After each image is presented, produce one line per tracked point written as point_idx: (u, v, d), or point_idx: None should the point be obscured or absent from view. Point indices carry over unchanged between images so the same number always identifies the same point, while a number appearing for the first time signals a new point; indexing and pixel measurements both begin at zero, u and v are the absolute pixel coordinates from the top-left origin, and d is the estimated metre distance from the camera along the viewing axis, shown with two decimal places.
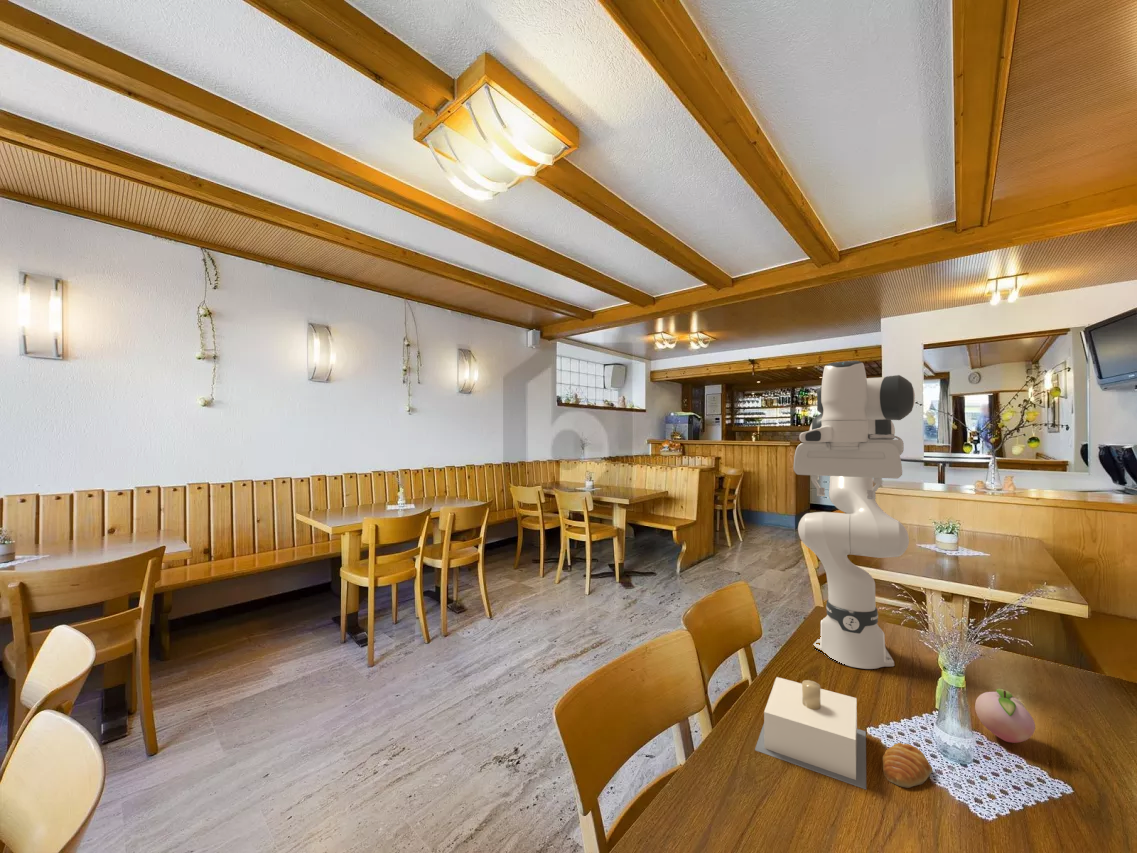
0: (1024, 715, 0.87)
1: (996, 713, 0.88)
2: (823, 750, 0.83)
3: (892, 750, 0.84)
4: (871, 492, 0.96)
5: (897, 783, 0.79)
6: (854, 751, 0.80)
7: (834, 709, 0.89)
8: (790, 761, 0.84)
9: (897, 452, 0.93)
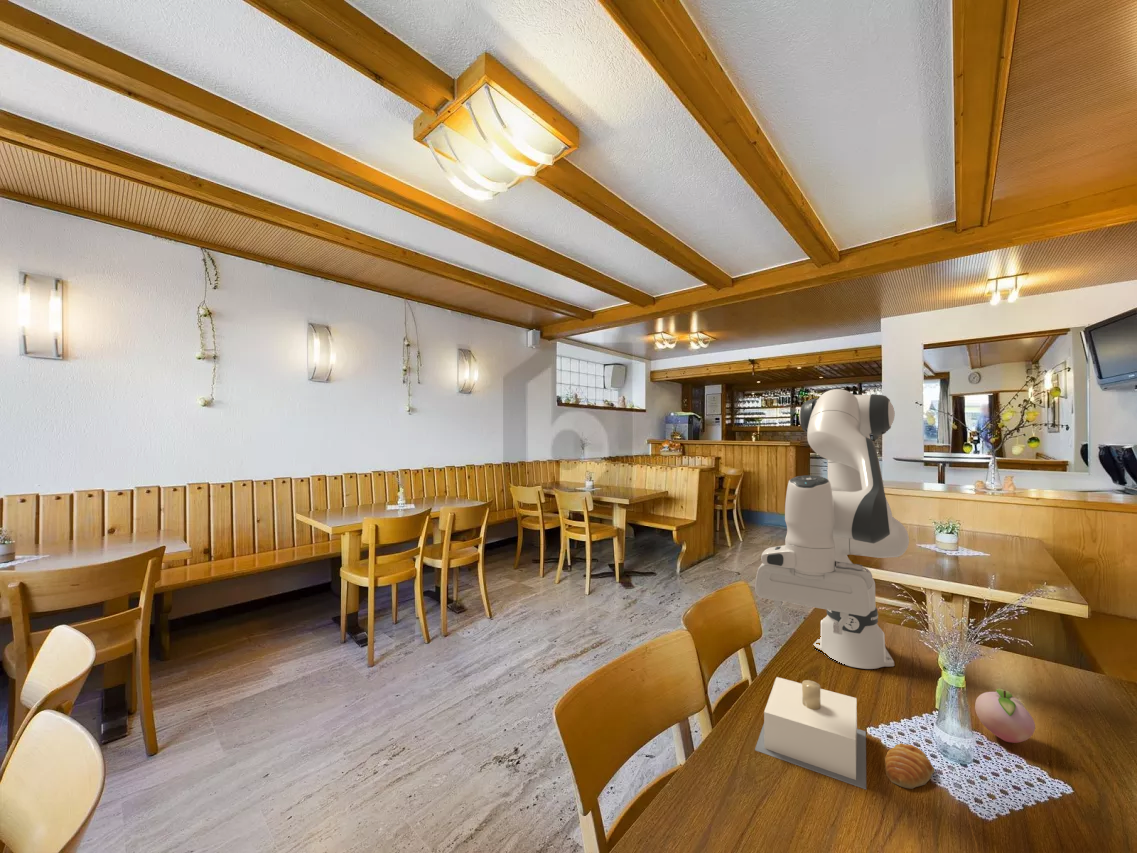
0: (1024, 715, 0.87)
1: (996, 713, 0.88)
2: (823, 750, 0.83)
3: (894, 751, 0.83)
4: (837, 627, 0.87)
5: (900, 784, 0.78)
6: (854, 751, 0.80)
7: (834, 709, 0.89)
8: (790, 761, 0.84)
9: (865, 587, 0.84)
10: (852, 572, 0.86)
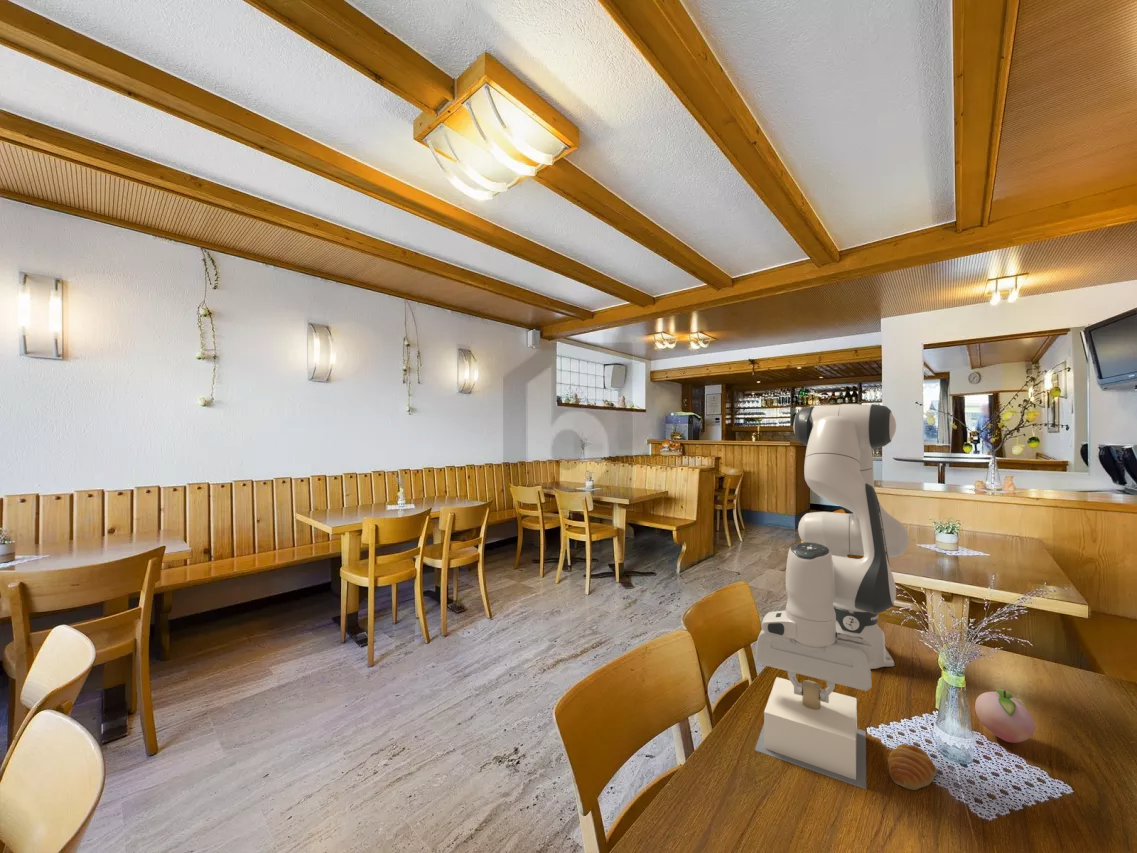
0: (1024, 715, 0.87)
1: (996, 713, 0.88)
2: (823, 750, 0.83)
3: (897, 752, 0.83)
4: (824, 695, 0.88)
5: (904, 785, 0.78)
6: (854, 751, 0.80)
7: (834, 709, 0.89)
8: (790, 761, 0.84)
9: (866, 662, 0.84)
10: (853, 645, 0.86)
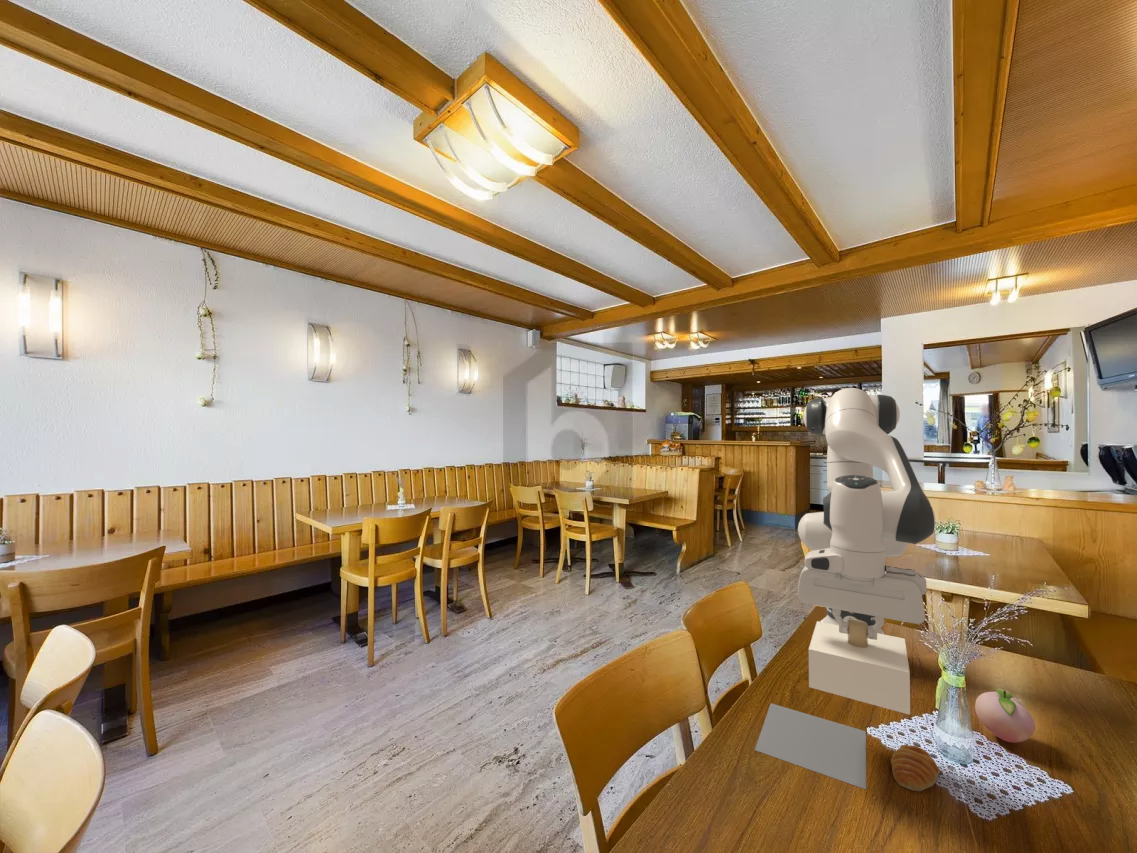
0: (1024, 715, 0.87)
1: (996, 713, 0.88)
2: (874, 685, 0.78)
3: (900, 753, 0.83)
4: (872, 632, 0.84)
5: (909, 787, 0.78)
6: (908, 684, 0.76)
7: (883, 648, 0.84)
8: (790, 761, 0.84)
9: (919, 594, 0.80)
10: (904, 577, 0.82)
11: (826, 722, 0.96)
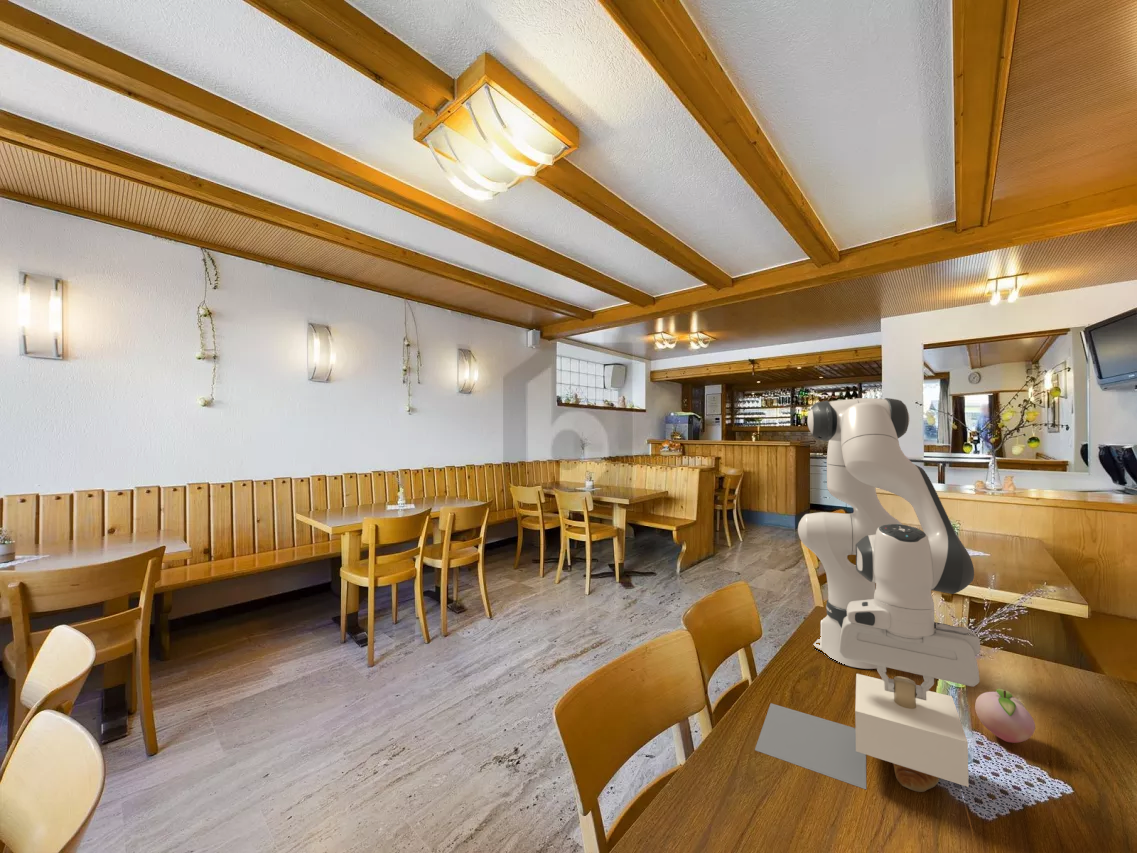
0: (1024, 715, 0.87)
1: (996, 713, 0.88)
2: (928, 753, 0.74)
3: None
4: (921, 692, 0.80)
5: (912, 788, 0.78)
6: (966, 754, 0.72)
7: (932, 709, 0.80)
8: (790, 761, 0.84)
9: (973, 655, 0.76)
10: (955, 636, 0.78)
11: (826, 722, 0.96)
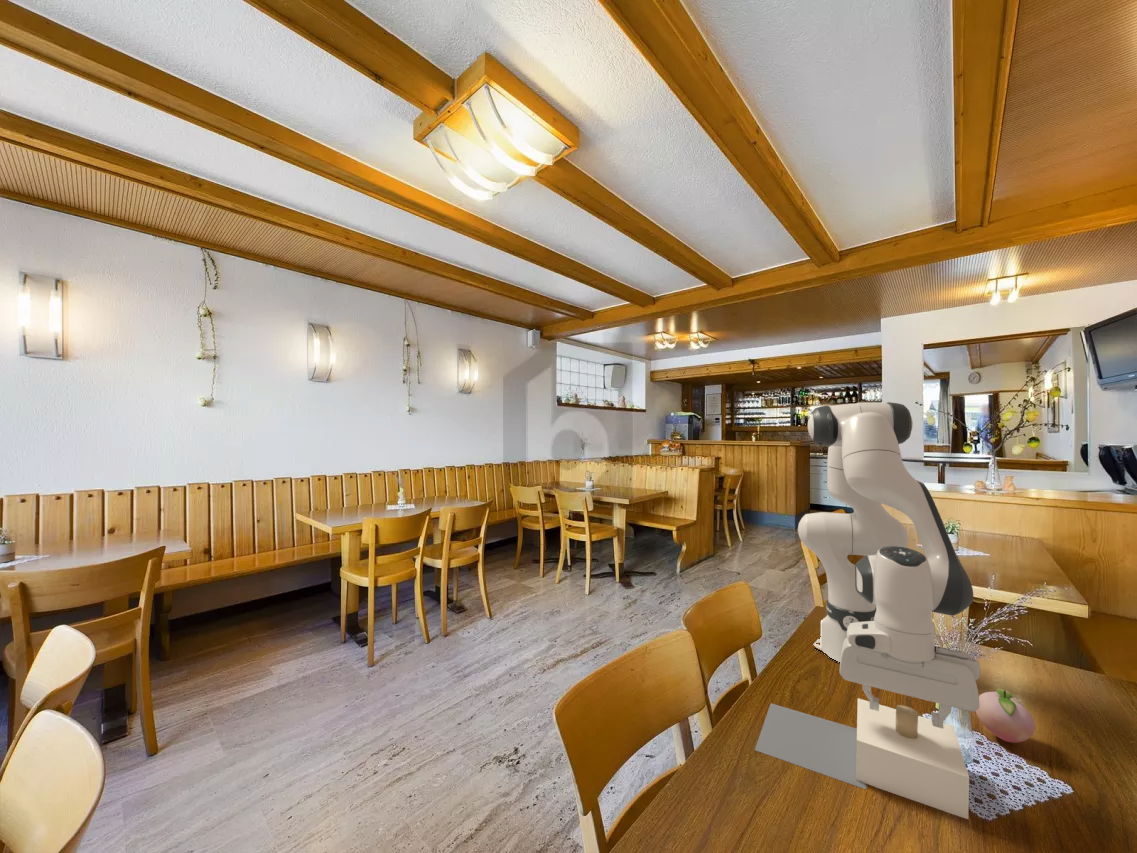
0: (1024, 715, 0.87)
1: (996, 713, 0.88)
2: (928, 786, 0.74)
3: None
4: (938, 720, 0.79)
5: None
6: (967, 790, 0.72)
7: (934, 739, 0.80)
8: (790, 761, 0.84)
9: (973, 680, 0.76)
10: (956, 660, 0.78)
11: (826, 722, 0.96)
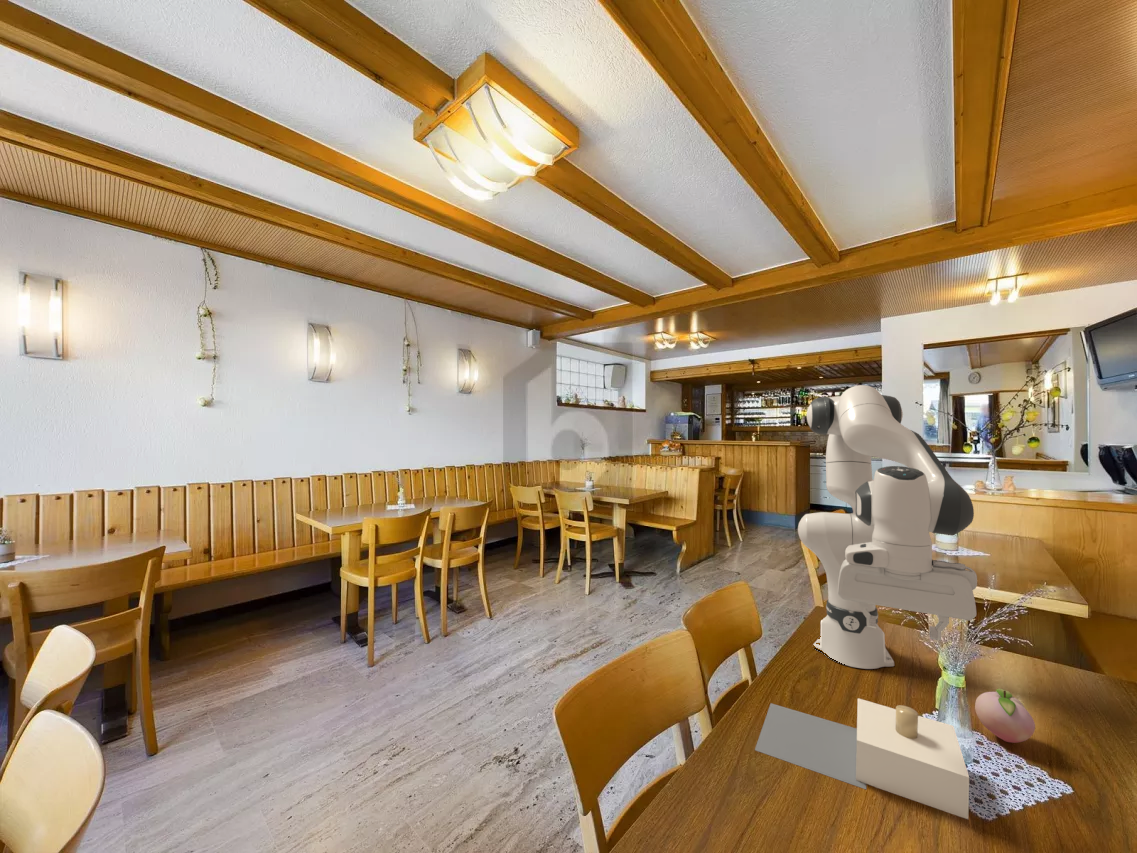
0: (1024, 715, 0.87)
1: (996, 713, 0.88)
2: (928, 786, 0.74)
3: None
4: (936, 632, 0.80)
5: None
6: (967, 790, 0.72)
7: (934, 739, 0.80)
8: (790, 761, 0.84)
9: (970, 589, 0.77)
10: (953, 572, 0.79)
11: (826, 722, 0.96)
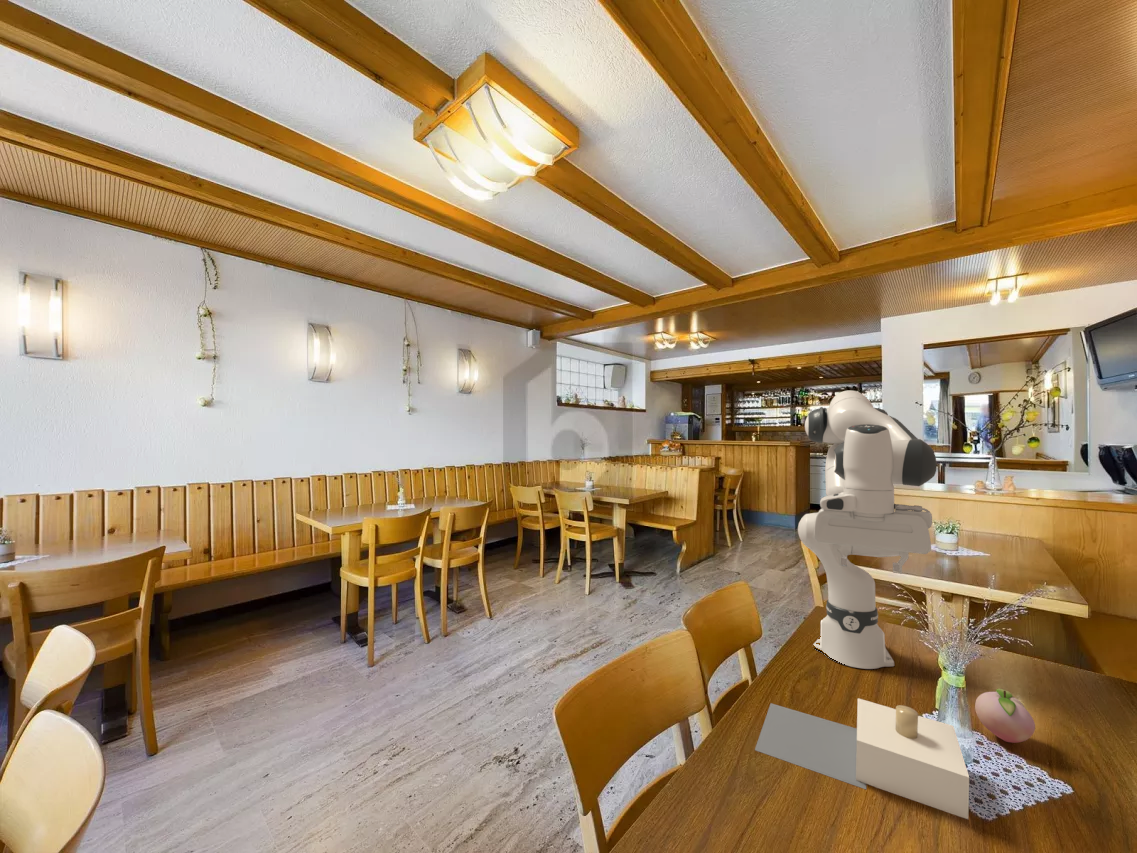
0: (1024, 715, 0.87)
1: (996, 713, 0.88)
2: (928, 786, 0.74)
3: None
4: (897, 566, 0.91)
5: None
6: (967, 790, 0.72)
7: (934, 739, 0.80)
8: (790, 761, 0.84)
9: (925, 526, 0.88)
10: (912, 513, 0.90)
11: (826, 722, 0.96)
